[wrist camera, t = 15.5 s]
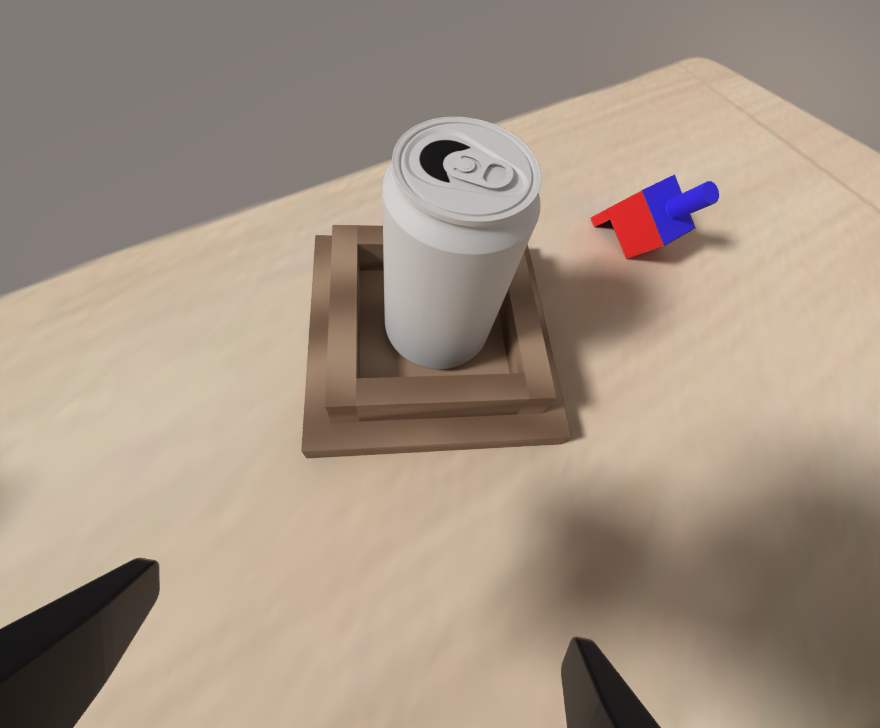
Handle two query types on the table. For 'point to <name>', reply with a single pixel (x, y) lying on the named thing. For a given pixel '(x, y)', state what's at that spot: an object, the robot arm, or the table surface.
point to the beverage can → (453, 235)
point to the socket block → (419, 367)
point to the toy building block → (656, 215)
